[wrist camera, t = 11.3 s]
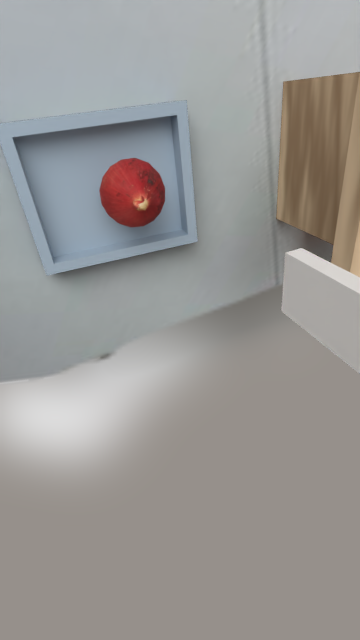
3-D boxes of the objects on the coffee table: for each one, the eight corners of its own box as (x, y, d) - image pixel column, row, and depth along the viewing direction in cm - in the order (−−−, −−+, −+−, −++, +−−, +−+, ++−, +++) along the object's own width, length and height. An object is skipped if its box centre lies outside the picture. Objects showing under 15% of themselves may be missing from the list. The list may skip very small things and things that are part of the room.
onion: (120, 139, 32) (140, 147, 25) (164, 183, 35) (192, 199, 28) (83, 190, 33) (92, 209, 26) (129, 227, 36) (147, 252, 29)
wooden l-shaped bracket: (218, 231, 41) (341, 315, 24) (212, 90, 33) (388, 67, 16) (284, 216, 43) (441, 285, 26) (293, 80, 35) (525, 50, 18)
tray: (46, 264, 36) (46, 275, 34) (-3, 123, 29) (-7, 124, 27) (188, 233, 40) (197, 241, 37) (176, 101, 32) (186, 100, 30)
